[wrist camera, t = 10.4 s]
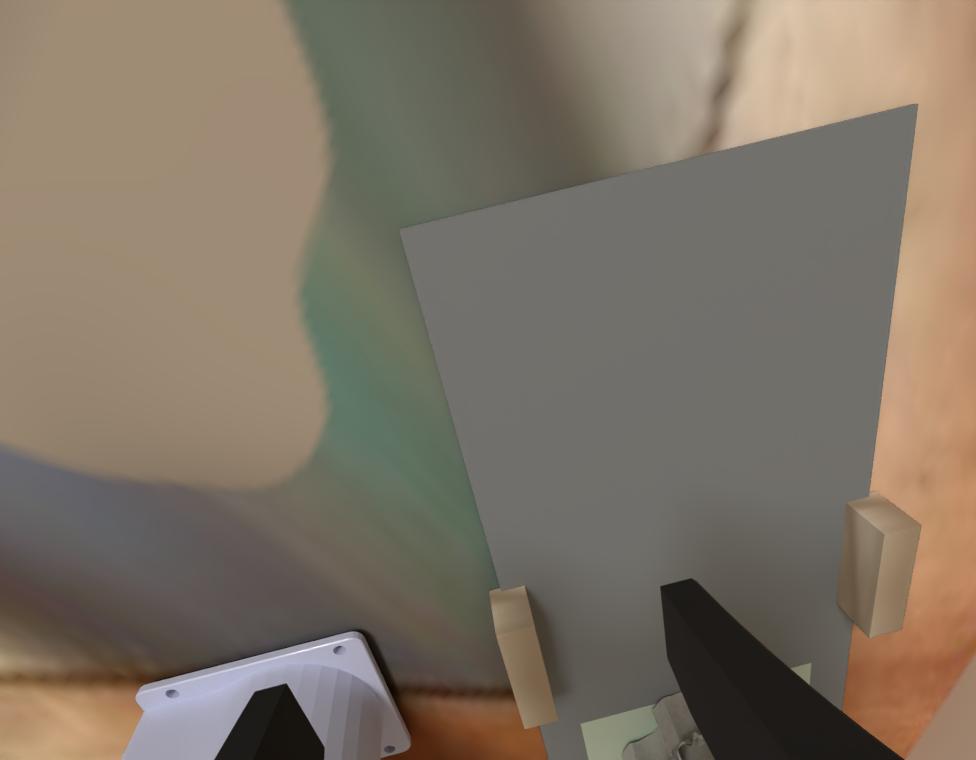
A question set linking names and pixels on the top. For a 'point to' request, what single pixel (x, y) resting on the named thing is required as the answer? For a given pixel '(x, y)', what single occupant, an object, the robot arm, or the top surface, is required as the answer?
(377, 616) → the top surface
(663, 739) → the egg carton
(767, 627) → the lane mat
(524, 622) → the lane walls
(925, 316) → the top surface
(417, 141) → the top surface
